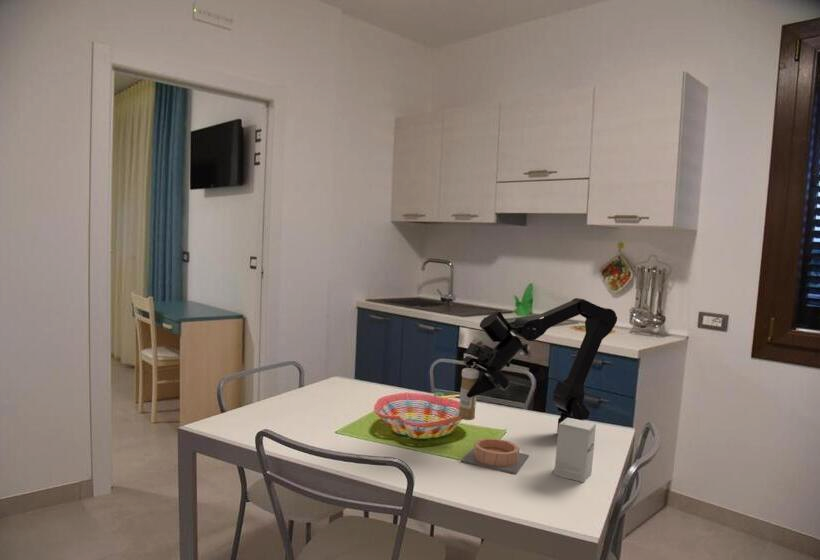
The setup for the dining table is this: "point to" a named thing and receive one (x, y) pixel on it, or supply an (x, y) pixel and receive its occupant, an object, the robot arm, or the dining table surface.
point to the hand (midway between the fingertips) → (463, 394)
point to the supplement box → (575, 449)
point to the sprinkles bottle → (466, 403)
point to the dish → (496, 455)
